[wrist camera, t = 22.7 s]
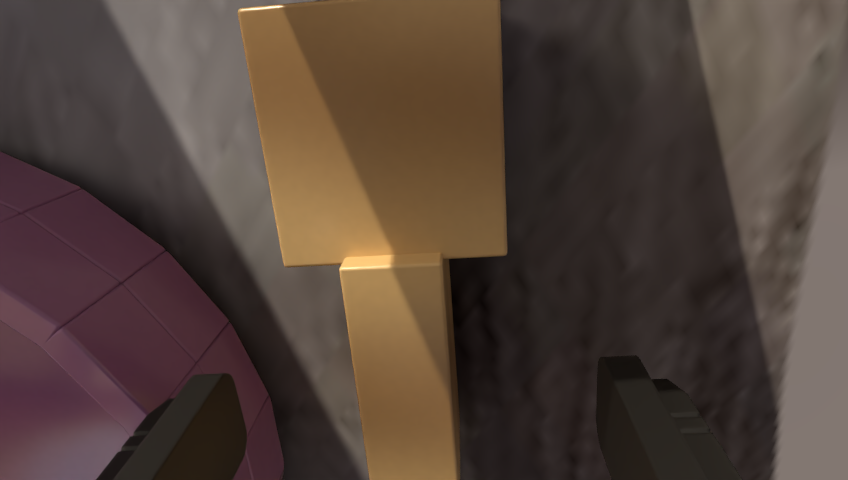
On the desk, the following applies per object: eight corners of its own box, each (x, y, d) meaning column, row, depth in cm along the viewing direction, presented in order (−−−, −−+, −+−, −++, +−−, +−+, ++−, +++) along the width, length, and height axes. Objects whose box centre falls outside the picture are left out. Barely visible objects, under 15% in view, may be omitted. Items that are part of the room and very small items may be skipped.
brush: (503, 413, 17) (517, 517, 14) (349, 418, 18) (320, 520, 14) (489, -3, 13) (503, -20, 9) (286, 15, 13) (222, 6, 10)
